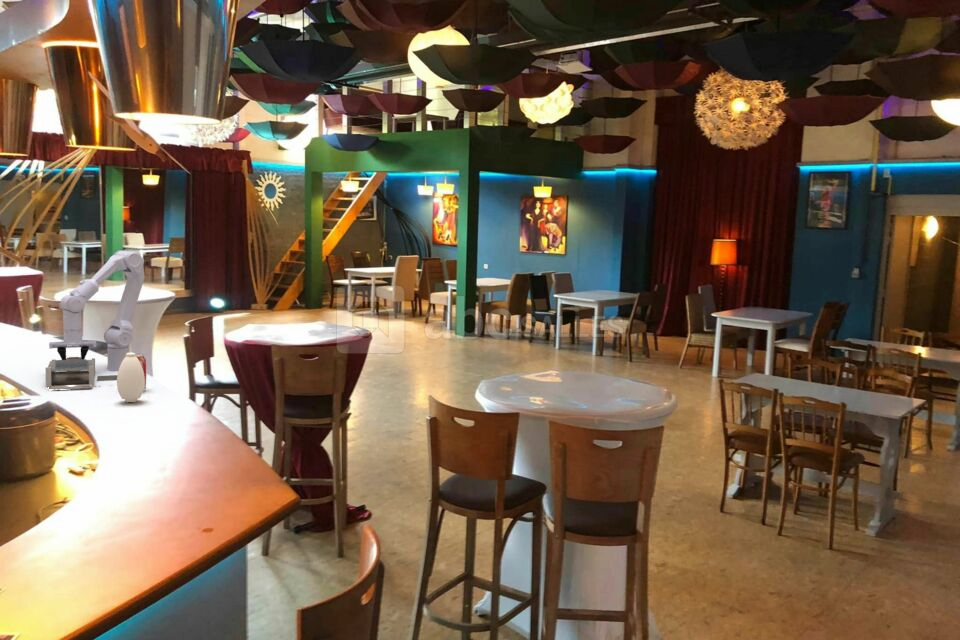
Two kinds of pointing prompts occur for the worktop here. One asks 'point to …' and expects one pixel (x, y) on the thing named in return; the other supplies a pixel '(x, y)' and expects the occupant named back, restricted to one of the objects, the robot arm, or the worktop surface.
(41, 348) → the worktop surface
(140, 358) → the soda can
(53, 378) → the case
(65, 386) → the rod
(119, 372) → the egg-shaped bottle
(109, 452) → the worktop surface
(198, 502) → the worktop surface
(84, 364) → the lid
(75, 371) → the module
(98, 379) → the mat
